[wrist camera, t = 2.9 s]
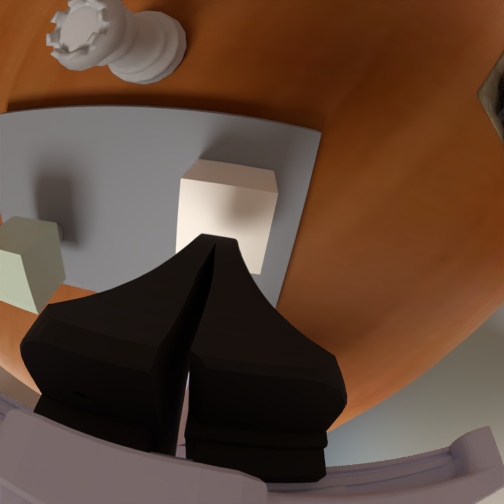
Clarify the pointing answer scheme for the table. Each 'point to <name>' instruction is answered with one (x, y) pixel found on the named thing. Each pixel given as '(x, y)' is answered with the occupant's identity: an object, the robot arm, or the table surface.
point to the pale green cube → (29, 262)
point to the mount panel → (141, 181)
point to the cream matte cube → (228, 206)
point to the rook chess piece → (117, 40)
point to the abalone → (494, 96)
